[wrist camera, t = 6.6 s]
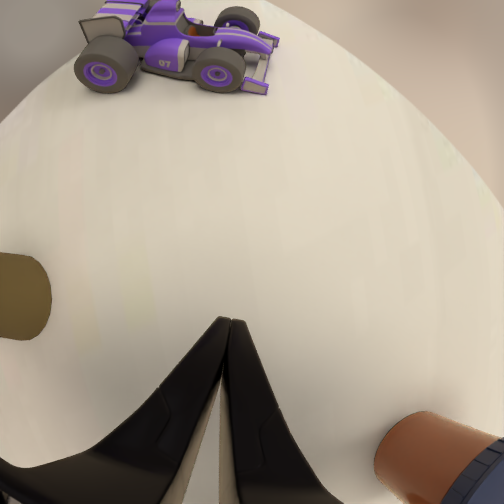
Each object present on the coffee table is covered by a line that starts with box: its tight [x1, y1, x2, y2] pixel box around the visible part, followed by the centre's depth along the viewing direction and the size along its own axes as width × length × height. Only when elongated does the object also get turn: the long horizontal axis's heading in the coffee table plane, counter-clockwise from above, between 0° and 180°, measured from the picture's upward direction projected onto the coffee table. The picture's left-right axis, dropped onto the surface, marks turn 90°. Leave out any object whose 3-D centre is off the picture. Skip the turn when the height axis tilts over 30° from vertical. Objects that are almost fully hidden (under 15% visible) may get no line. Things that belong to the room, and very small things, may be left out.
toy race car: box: [74, 0, 280, 95], centre depth 18 cm, size 10×15×6 cm, turn 80°
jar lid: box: [441, 437, 504, 504], centre depth 7 cm, size 7×7×2 cm
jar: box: [374, 411, 501, 504], centre depth 11 cm, size 6×6×9 cm
